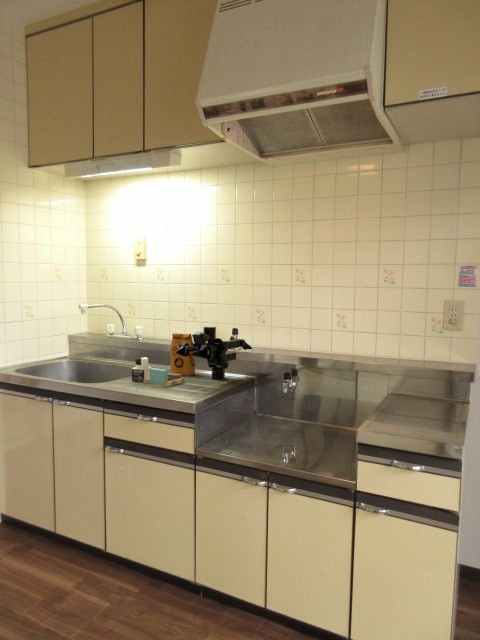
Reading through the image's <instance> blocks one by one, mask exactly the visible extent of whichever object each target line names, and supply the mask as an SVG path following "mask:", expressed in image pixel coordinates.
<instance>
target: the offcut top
mask: <svg viewBox="0 0 480 640" xmlns="http://www.w3.org/2000/svg"><path fill="white" fill-rule="evenodd" d="M168 378H170V379H179V378H182V375H181V374H175V373H171V372H168Z"/></svg>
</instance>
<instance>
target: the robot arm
mask: <svg viewBox="0 0 480 640" xmlns="http://www.w3.org/2000/svg"><path fill="white" fill-rule="evenodd" d="M191 336H192V340H193V346H194V347H192V346H189V344H188V343H180V344H179V349H178V350H177V351H176V354H178V355H180V356H183V357H187V356H189V351H191V352H192V355H193V356H195V358H196V357H197V358H200V359H203V360H206V361H207V364H208V368H211V380H214V381H215V380H217V381H218V380H224V379H225V380H228V378H227V377H226V376H225V375H226V372H225V371H226V369H228V368H229V365H230V364H229V362H231V361H235V360H237V359H236V354H237V353H235V352H233V351H228V350H231V349H236V348H237V347H242V348H243V349H245V350H246V349H252V348H253V347H252V346H251V345H250V344H249V343H247V342H246V340H245V339H243V338H236V339H231V340H226V341H225V340H224V341H223V340H222V338H220V337H219V338H217V326H203V331H195V332H194V333H193V334H191ZM189 348H190V349H189ZM227 351H228V352H227Z"/></svg>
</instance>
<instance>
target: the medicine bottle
mask: <svg viewBox="0 0 480 640" xmlns="http://www.w3.org/2000/svg"><path fill="white" fill-rule="evenodd" d="M151 368H153V367H152V366H149V358H148V357H146V356H139V357H137V358H135V367H132V368H131V381H133V382H139V383H144V380H145V379H149V378H150V369H151Z"/></svg>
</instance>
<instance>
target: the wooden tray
mask: <svg viewBox="0 0 480 640" xmlns="http://www.w3.org/2000/svg"><path fill="white" fill-rule="evenodd" d="M185 382H186V378H185V377H181V378H180V379H176V380H172V381H168V382H164V383H163V386H161V385H154V384H150V378H149V379H145V380H144V382H143V385H148V386H152V387H153V386H154V387H159V388H168V387H172V386H176V385H178V384H179V385H180V384H184V383H185Z"/></svg>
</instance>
